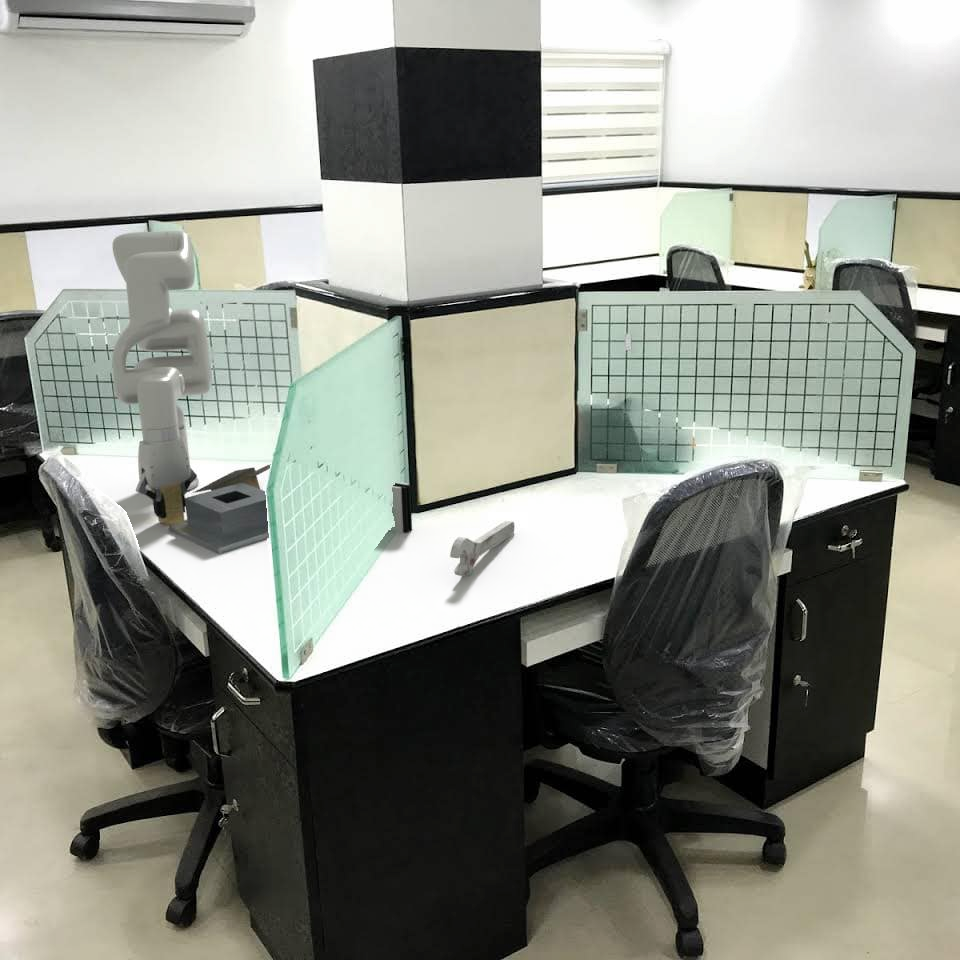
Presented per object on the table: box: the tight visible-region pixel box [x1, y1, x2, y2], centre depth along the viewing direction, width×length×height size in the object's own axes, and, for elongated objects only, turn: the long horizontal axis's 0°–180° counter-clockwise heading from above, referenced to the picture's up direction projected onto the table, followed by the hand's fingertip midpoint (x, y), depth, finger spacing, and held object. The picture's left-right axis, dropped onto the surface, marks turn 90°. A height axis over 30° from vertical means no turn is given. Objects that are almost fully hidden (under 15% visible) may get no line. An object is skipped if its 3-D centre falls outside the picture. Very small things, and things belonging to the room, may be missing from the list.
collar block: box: [167, 483, 269, 555], centre depth 212 cm, size 20×20×7 cm
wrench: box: [449, 520, 515, 577], centre depth 195 cm, size 8×2×30 cm
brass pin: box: [157, 482, 185, 527], centre depth 217 cm, size 4×4×10 cm
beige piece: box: [191, 464, 271, 495], centre depth 232 cm, size 16×9×15 cm
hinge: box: [388, 481, 413, 534], centre depth 211 cm, size 14×5×10 cm, turn 74°
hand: (170, 513), depth 218 cm, fingers closed on brass pin, 4 cm apart
